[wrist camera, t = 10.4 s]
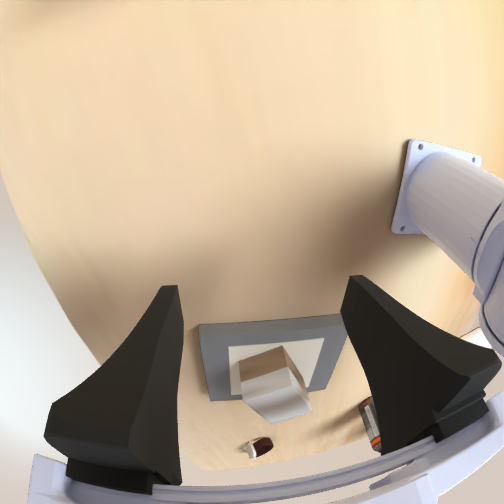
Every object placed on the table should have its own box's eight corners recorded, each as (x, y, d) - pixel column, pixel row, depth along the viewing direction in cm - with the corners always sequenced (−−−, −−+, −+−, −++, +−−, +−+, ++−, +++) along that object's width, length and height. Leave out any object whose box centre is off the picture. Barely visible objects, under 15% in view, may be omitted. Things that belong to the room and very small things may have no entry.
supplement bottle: (395, 387, 39) (419, 442, 29) (381, 404, 42) (401, 456, 32) (365, 395, 38) (388, 455, 29) (352, 412, 41) (371, 466, 32)
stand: (346, 313, 26) (351, 324, 25) (322, 379, 33) (325, 389, 31) (199, 324, 25) (198, 337, 24) (210, 390, 31) (210, 401, 30)
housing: (303, 377, 29) (312, 411, 25) (265, 390, 30) (271, 424, 26) (282, 345, 25) (292, 385, 22) (238, 361, 26) (242, 400, 22)
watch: (251, 435, 42) (254, 453, 38) (277, 434, 43) (280, 452, 40) (241, 448, 45) (243, 464, 42) (264, 448, 46) (267, 463, 43)
